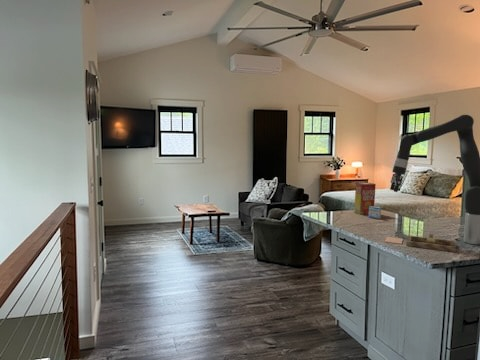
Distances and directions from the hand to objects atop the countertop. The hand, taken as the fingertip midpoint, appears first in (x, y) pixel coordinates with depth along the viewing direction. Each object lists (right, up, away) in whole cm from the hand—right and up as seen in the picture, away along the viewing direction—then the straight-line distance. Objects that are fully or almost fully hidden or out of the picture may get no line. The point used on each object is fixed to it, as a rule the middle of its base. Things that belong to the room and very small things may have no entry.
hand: (393, 190), depth 230 cm
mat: (-8, -29, -18) cm, 35 cm away
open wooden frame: (+9, -30, -27) cm, 41 cm away
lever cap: (+9, -30, -27) cm, 41 cm away
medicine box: (+6, -23, +48) cm, 53 cm away
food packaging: (+4, -21, +66) cm, 69 cm away
